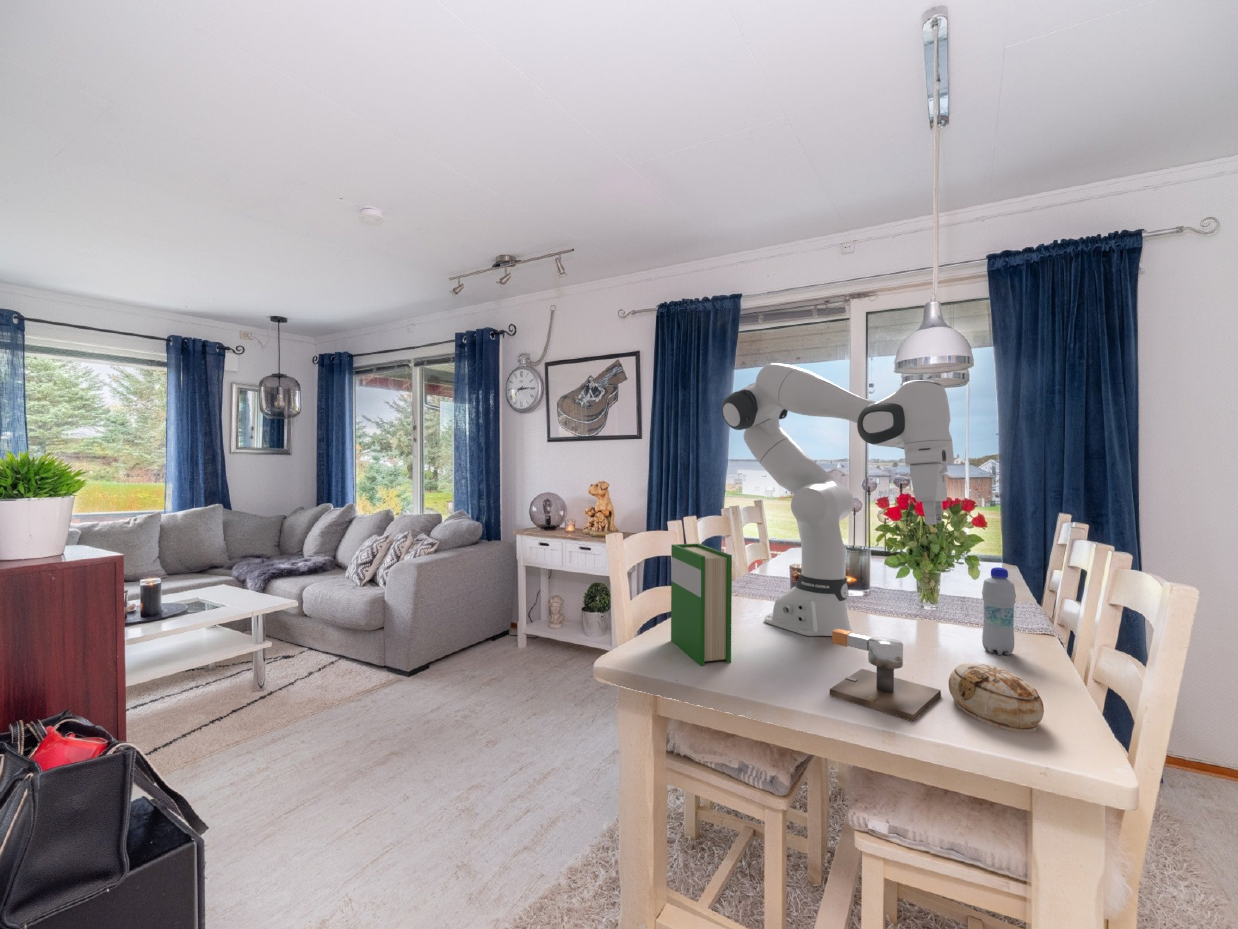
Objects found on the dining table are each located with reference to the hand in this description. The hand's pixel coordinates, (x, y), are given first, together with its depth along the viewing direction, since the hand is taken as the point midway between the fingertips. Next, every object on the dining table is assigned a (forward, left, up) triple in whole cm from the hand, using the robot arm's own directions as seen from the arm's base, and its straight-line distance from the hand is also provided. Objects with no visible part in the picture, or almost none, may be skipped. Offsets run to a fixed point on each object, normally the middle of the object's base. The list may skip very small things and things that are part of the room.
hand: (934, 523), depth 115 cm
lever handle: (-7, -15, -26) cm, 31 cm away
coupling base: (-4, -15, -32) cm, 36 cm away
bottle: (+5, +30, -32) cm, 44 cm away
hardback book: (-44, -21, -32) cm, 58 cm away
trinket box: (+12, -8, -33) cm, 36 cm away
